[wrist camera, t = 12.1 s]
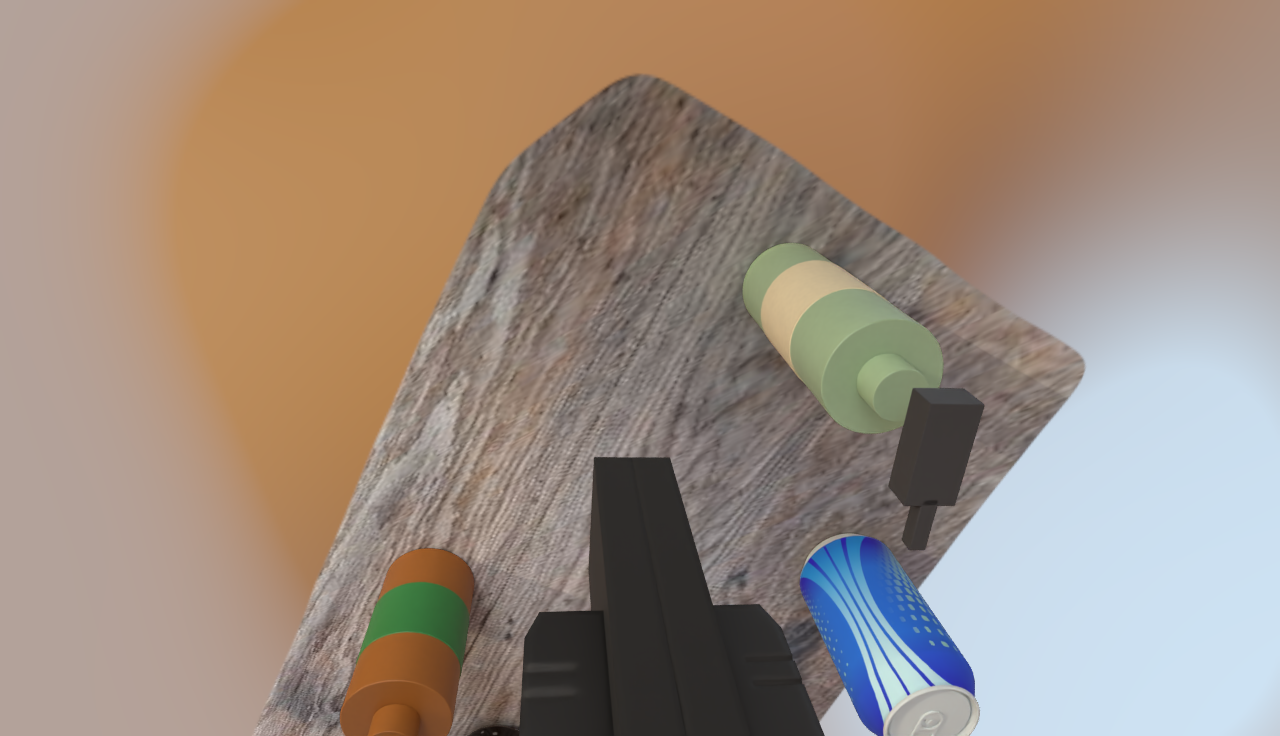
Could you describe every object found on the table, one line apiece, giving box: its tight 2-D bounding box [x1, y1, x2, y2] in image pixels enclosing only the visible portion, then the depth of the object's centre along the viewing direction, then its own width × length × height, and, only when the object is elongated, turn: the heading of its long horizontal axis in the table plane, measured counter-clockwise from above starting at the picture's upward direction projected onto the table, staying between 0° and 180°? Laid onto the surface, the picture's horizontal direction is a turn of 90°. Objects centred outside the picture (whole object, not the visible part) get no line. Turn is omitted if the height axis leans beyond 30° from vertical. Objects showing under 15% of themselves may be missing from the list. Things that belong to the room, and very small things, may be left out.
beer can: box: [800, 533, 980, 736], centre depth 53 cm, size 8×8×16 cm
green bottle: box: [743, 243, 944, 434], centre depth 41 cm, size 6×6×18 cm
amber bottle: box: [340, 548, 474, 736], centre depth 49 cm, size 7×7×15 cm
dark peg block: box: [889, 388, 984, 550], centre depth 31 cm, size 7×2×3 cm, turn 176°
